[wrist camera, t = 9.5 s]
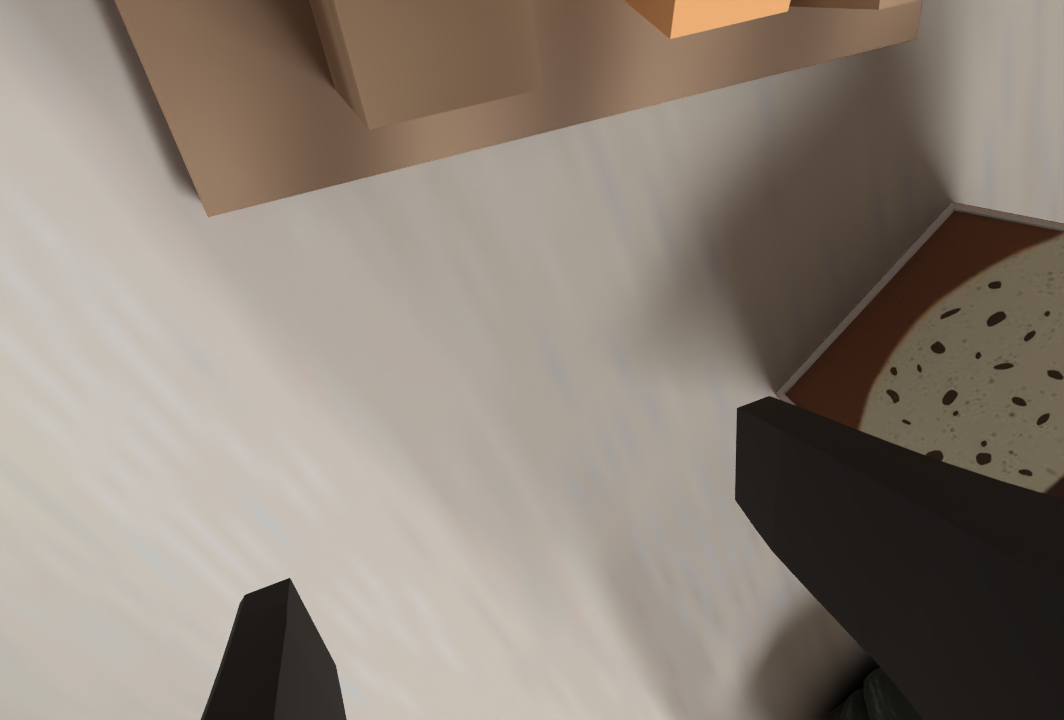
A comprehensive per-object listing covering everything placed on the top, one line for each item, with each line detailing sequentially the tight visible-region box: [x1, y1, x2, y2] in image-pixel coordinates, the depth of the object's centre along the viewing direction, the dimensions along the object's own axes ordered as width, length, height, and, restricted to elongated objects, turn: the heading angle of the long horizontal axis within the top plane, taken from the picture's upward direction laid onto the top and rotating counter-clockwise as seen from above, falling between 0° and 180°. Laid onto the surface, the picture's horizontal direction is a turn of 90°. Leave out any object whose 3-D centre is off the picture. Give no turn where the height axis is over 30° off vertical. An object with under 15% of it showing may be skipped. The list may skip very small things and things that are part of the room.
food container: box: [776, 202, 1064, 499], centre depth 23 cm, size 12×6×10 cm, turn 138°
